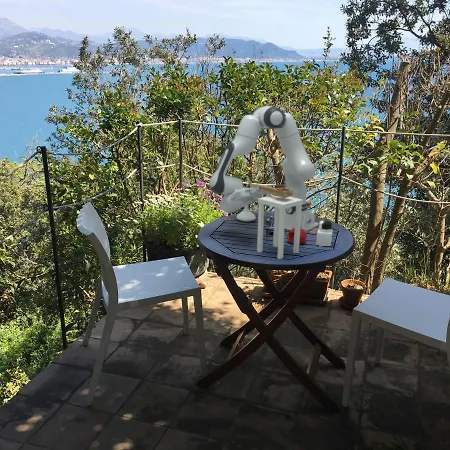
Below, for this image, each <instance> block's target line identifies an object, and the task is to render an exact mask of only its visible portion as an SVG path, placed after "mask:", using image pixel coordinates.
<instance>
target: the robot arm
mask: <svg viewBox="0 0 450 450" xmlns="http://www.w3.org/2000/svg"><path fill="white" fill-rule="evenodd" d="M263 129H271V130H273V129H274V130H275V132H276V134H277V137H278V141H279V145H280V148H281V151H282V153H283V154H284V155H285V157H284V159H283V160H282V162H281V163H282V164H281V167H282V170H283V173H284V179H285V186H286V187H285V188H287V189H291V190H293V196H290V197H293V198H298V199H302V200H303V204H302V209H301V225H300V227H302V228H300V229H304V231H305V232H308V231H311V230H312V229H314V228H316V227H317V226H318V227H319V222H318V221H315V220H316V219H315V217H316V216H315V214H314V213H313V212H312V211H310V210H309V208H308V207H310V206H312V205H311V204H312V203H311V202H307V194H308V189H307V185H306V182H305V181H308V180H311V179H312V178H313V177H314V175H315V173H316V167H315V165H314V164H313V162H312V161H311V159H310V157H309V155H308V153H307V151H306V149H305V147H304V144H303V142H302V139H301V138H302V137H301V135H300V131H299V128H298V126H297V123H296V121H295V119H294V117H293V115H292V114H291V112H290V113H289V112H284V111H282V109H281V108H279V107H277V106H271V105H266V106H259V107H257V108H255V109H254V110H253V112H252V113H251V114H246V115H243V117H242V119H241V120H240V122H239V124H238V128H237V130H236V133H235V137H234V138H233V140H232V142H231V143H228V144H227V145H226V146H225V149H224V151H223V152H222V155H221V157H220V159H219V162H218V164H217V165H216V168H215V169H214V171H213V174H211V177H210V179H209V180H208V186H209V189H210V190H211V192H212V193H213V194H217V195H218V194H220V195H223V198H222V199H221V200H220V201H219V208H220V209H221V211H222V212H224V213H233V212H236V211H238V210H240V209H241V208H244V207H245V206H246V205H248V206H249V205H250V204H252V203H253V202H256V201H258V198H262V197H264V196H265V195H266V194H267V193H265V192H261V191H259V190H260V186H258V187H255V188H252V187H245V186H244V183H243V182H244V181H243V180H242V179H241V178H238V177H234V176H230V175H227V171H228V169H229V166H230V165H231V162H232V160H233V159H234V158H236V157H239V156H245V155H248V154H251V153H252V152H253V151H254V150H255V147H256V145H257V141H258V138H259V134H260V132H261V131H262V130H263ZM262 185H263V186H268V185H267V184H262ZM295 216H296V206H293V207H290V208H286V211H285V230H289V231H291V229H293V228H291V227H294V228H295Z"/></svg>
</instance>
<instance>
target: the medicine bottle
mask: <svg viewBox="0 0 450 450" xmlns="http://www.w3.org/2000/svg"><path fill="white" fill-rule="evenodd" d="M318 223H319V225H318V229H317V232H316V239H315V240H316V243H315V246H316V245H319V246H318V247H322V246H332V243H331V242H333V241H332V240H333V229H332V228H333V227H332V226H333V223H332V222H331V221H330V220H321V221H319V222H318Z"/></svg>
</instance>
